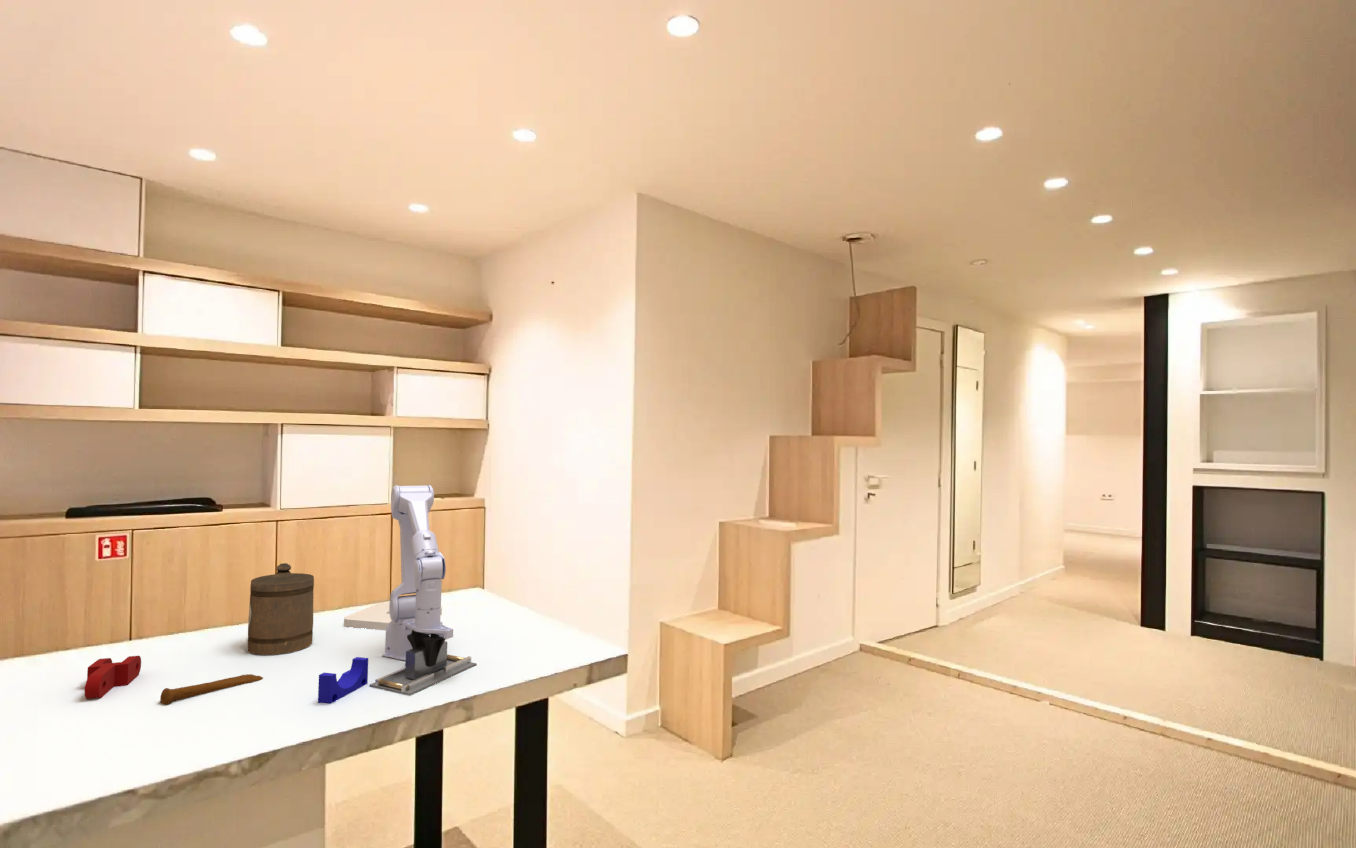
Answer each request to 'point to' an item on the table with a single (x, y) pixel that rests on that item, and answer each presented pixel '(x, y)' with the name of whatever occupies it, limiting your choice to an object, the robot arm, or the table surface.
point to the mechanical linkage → (110, 675)
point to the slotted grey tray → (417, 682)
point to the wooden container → (280, 612)
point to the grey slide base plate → (437, 678)
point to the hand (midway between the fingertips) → (426, 664)
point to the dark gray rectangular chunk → (423, 661)
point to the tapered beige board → (371, 617)
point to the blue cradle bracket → (343, 682)
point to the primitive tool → (205, 688)
